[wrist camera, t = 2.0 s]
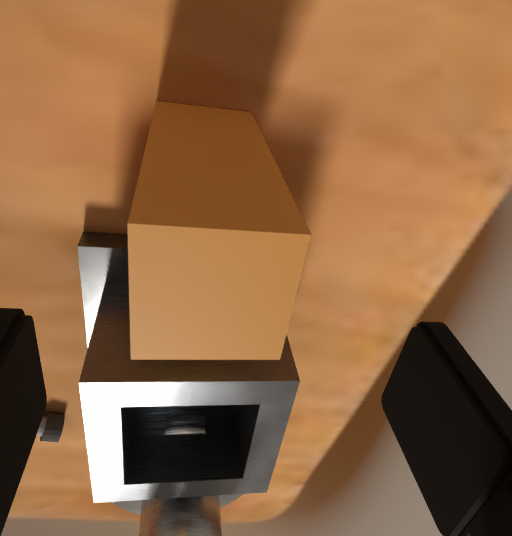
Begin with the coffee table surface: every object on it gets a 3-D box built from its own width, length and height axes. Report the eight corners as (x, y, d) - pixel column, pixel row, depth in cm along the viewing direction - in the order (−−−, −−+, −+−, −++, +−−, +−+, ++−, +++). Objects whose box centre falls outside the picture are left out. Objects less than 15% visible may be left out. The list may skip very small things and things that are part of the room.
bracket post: (83, 231, 23) (-54, 571, 10) (295, 244, 25) (415, 531, 12) (102, 449, 34) (50, 747, 21) (249, 443, 36) (286, 708, 23)
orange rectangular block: (156, 100, 20) (127, 223, 10) (251, 111, 20) (311, 234, 11) (154, 190, 22) (130, 359, 12) (239, 196, 23) (280, 359, 13)
